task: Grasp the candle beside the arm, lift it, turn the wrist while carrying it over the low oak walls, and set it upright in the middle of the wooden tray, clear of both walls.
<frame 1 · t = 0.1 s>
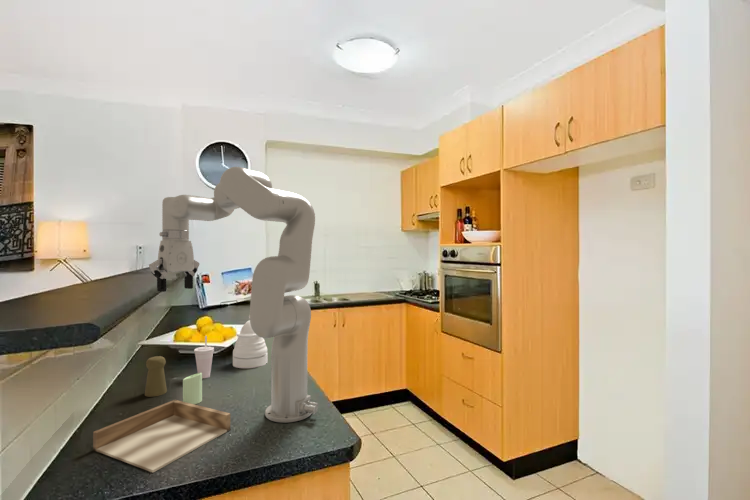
hand: (175, 289, 123), 31 cm above the counter, tool pointing down, fingers open, 9 cm apart
honey pot: (250, 363, 149), on the counter
smoothie: (204, 377, 133), on the counter
candle: (192, 402, 111), on the counter
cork: (155, 393, 118), on the counter
wooden tray: (165, 439, 89), on the counter
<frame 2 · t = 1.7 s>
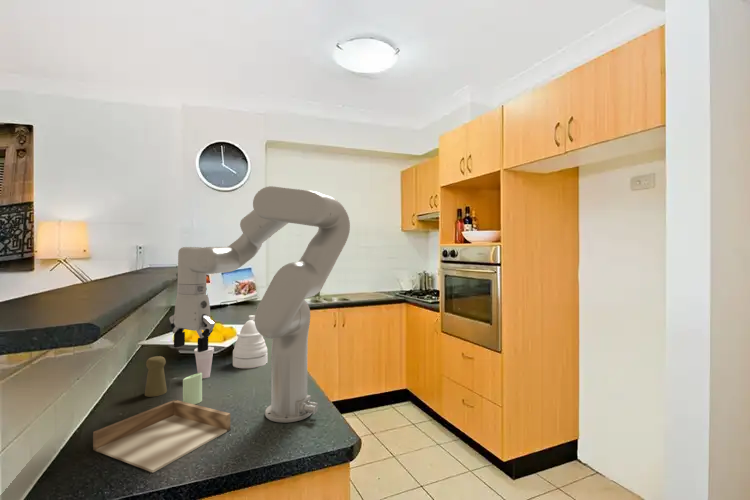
hand: (190, 348, 111), 15 cm above the counter, tool pointing down, fingers open, 9 cm apart
nothing on the counter moved.
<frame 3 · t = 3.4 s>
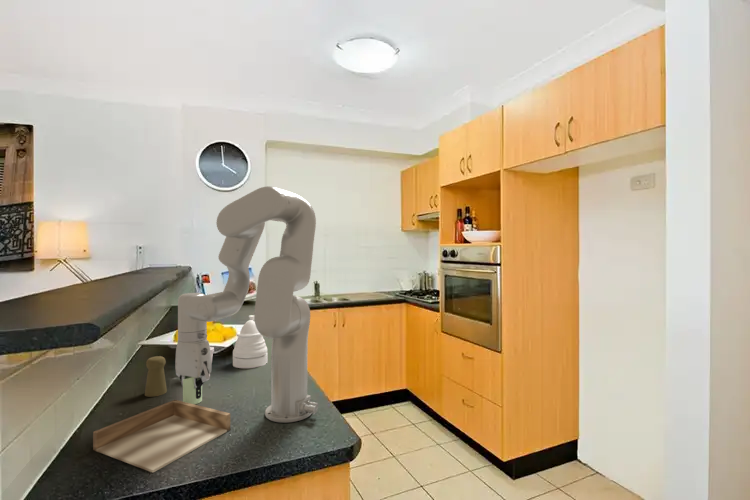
hand: (192, 399, 111), 1 cm above the counter, tool pointing down, fingers closed
candle: (192, 402, 111), on the counter, touching gripper
everything else where it was.
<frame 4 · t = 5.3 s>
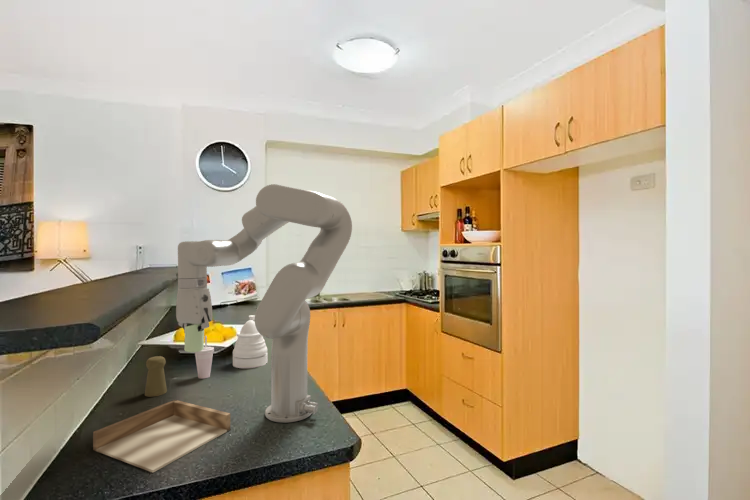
hand: (193, 347, 111), 16 cm above the counter, tool pointing down, fingers closed on candle
candle: (194, 350, 111), point 15 cm above the counter, touching gripper
everything else where it was.
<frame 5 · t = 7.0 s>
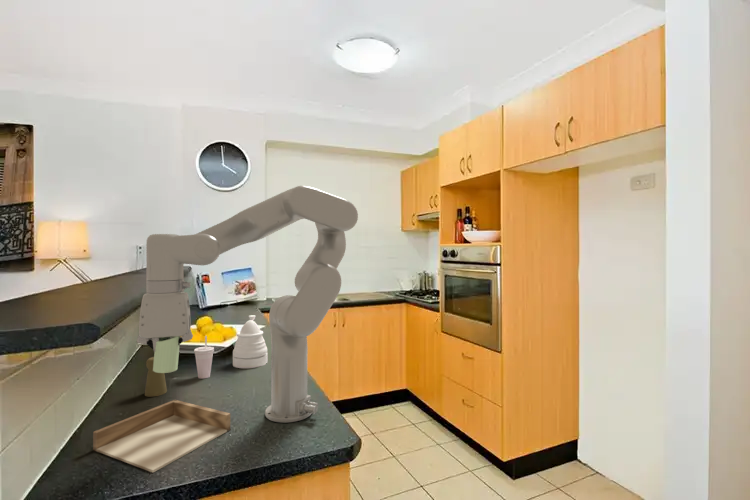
hand: (165, 367, 89), 17 cm above the counter, tool pointing down, fingers closed on candle
candle: (165, 370, 89), point 16 cm above the counter, touching gripper
everything else where it was.
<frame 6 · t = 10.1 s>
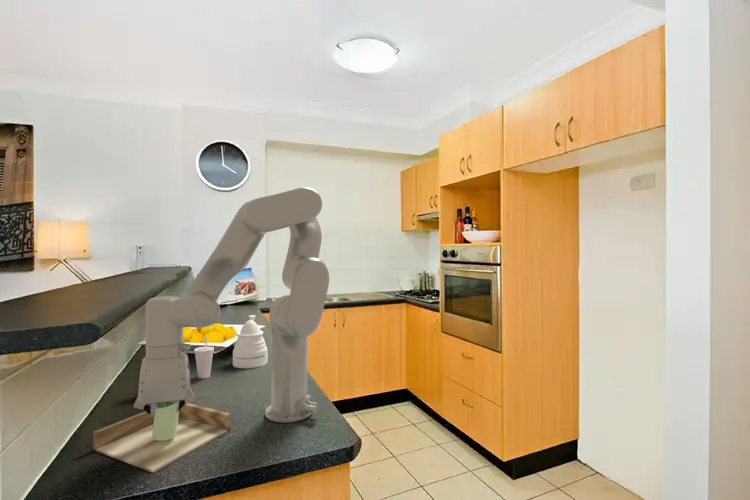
hand: (165, 430, 88), 3 cm above the counter, tool pointing down, fingers closed
candle: (164, 436, 88), point 1 cm above the counter, touching gripper
everything else where it was.
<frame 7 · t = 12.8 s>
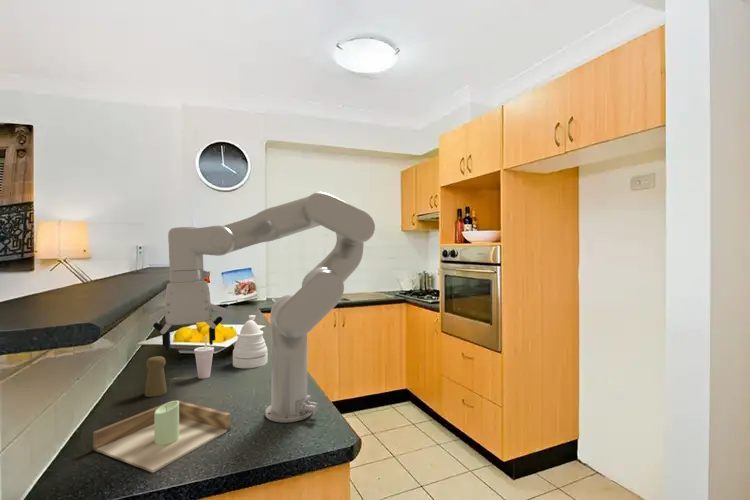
hand: (190, 346, 95), 20 cm above the counter, tool pointing down, fingers open, 9 cm apart
candle: (166, 440, 88), resting on wooden tray
everything else where it was.
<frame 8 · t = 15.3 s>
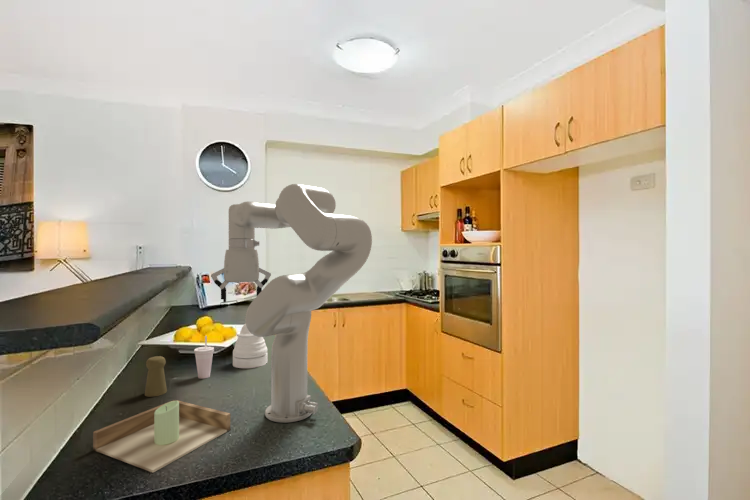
hand: (241, 301, 118), 28 cm above the counter, tool pointing down, fingers open, 9 cm apart
nothing on the counter moved.
at the end: candle inside the target area on the wooden tray (0.5 cm from its centre), point 0.3 cm above the wooden tray's base; candle tilted 0°; the gripper is holding nothing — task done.
